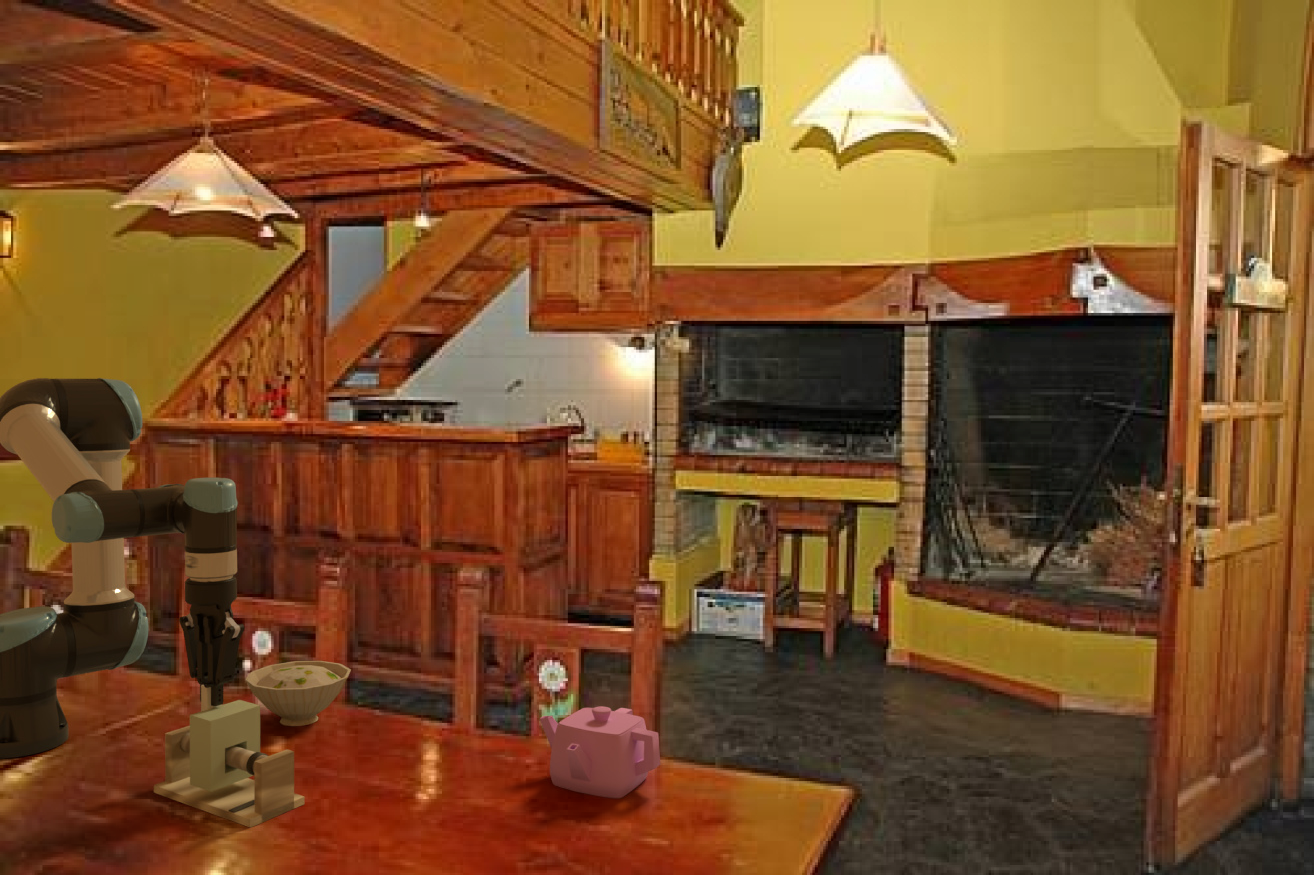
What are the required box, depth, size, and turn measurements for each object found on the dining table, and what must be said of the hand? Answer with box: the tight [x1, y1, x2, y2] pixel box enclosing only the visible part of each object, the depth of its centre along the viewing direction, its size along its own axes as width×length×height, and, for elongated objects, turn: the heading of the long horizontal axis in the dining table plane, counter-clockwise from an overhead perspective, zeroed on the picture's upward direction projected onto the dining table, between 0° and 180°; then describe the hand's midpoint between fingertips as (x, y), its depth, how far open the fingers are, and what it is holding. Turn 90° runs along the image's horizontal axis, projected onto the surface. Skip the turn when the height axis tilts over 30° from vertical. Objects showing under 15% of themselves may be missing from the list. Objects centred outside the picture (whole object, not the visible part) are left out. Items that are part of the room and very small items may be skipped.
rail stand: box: [153, 725, 305, 828], centre depth 164 cm, size 23×10×9 cm, turn 60°
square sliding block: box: [189, 699, 261, 792], centre depth 164 cm, size 5×9×11 cm, turn 150°
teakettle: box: [539, 705, 661, 799], centre depth 174 cm, size 17×17×12 cm
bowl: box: [245, 660, 352, 727], centre depth 200 cm, size 19×19×10 cm
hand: (211, 724), depth 165 cm, fingers closed
